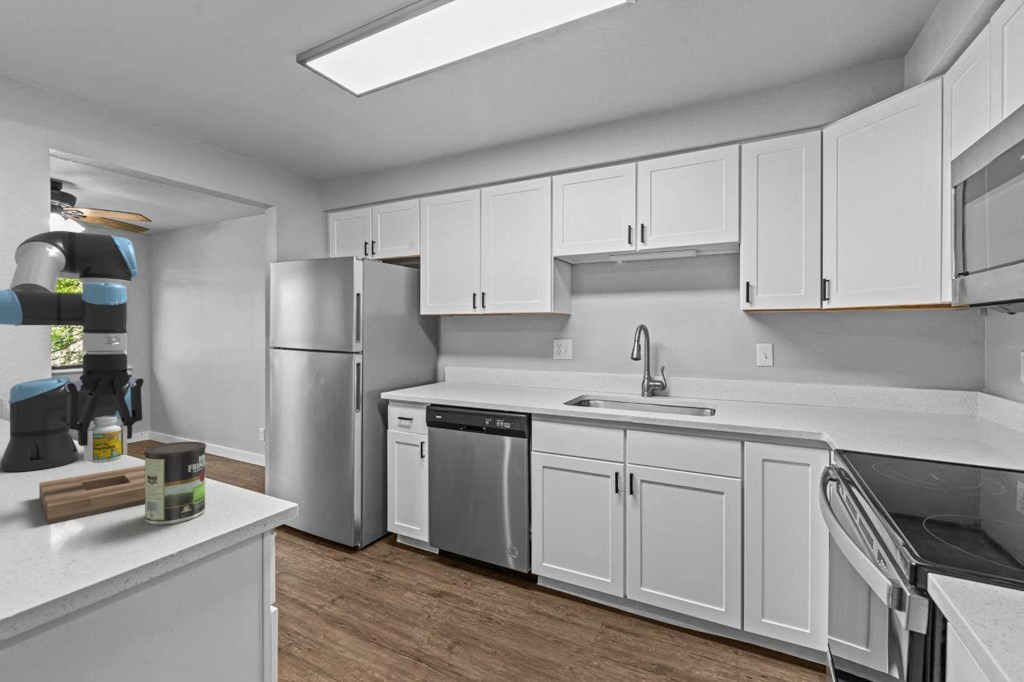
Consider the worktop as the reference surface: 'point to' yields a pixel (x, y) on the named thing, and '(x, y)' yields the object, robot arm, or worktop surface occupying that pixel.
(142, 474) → the socket block
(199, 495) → the coffee can
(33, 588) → the worktop surface
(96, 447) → the supplement bottle
